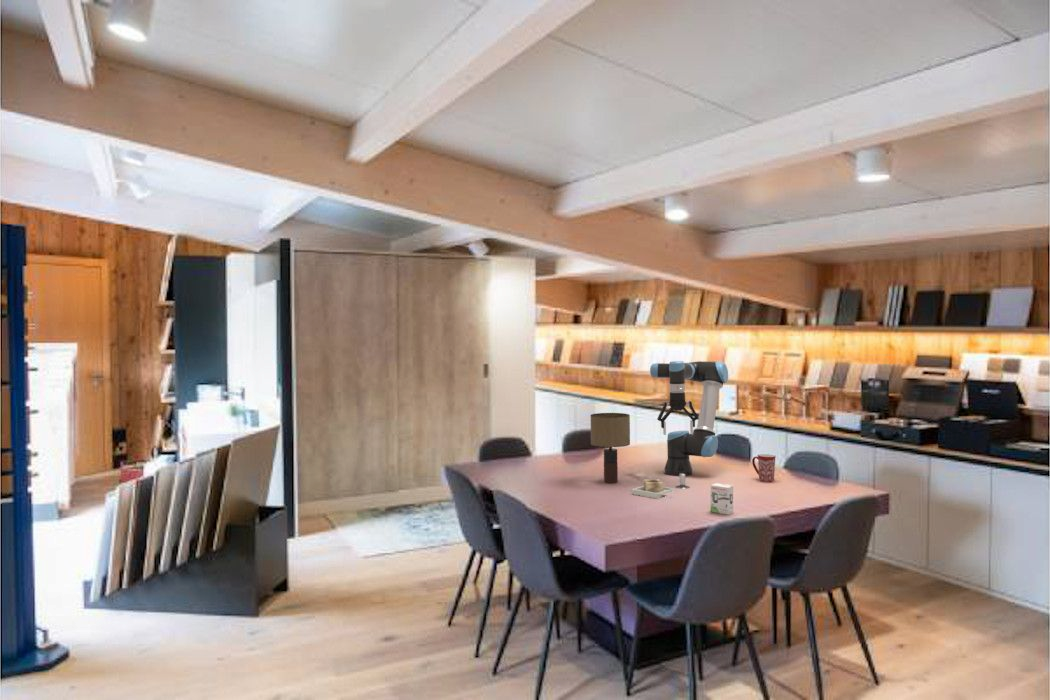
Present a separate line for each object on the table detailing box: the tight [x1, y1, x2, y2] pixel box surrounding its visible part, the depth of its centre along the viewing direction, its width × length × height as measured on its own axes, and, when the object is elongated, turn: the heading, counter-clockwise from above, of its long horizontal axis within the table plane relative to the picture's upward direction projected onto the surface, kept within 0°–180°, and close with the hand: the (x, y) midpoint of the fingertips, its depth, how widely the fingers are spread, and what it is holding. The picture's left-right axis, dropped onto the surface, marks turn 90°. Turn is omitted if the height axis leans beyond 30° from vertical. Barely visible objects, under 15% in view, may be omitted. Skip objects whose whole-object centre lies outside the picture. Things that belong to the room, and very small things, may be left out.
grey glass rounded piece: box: [674, 473, 690, 490], centre depth 351 cm, size 7×7×8 cm
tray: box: [630, 485, 677, 500], centre depth 344 cm, size 15×15×2 cm
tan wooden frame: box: [643, 478, 664, 493], centre depth 344 cm, size 8×9×5 cm
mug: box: [751, 453, 777, 483], centre depth 371 cm, size 13×9×14 cm
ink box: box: [710, 482, 734, 515], centre depth 307 cm, size 9×5×12 cm, turn 48°
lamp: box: [590, 412, 631, 484], centre depth 371 cm, size 20×20×35 cm
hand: (678, 434), depth 359 cm, fingers open, 13 cm apart
